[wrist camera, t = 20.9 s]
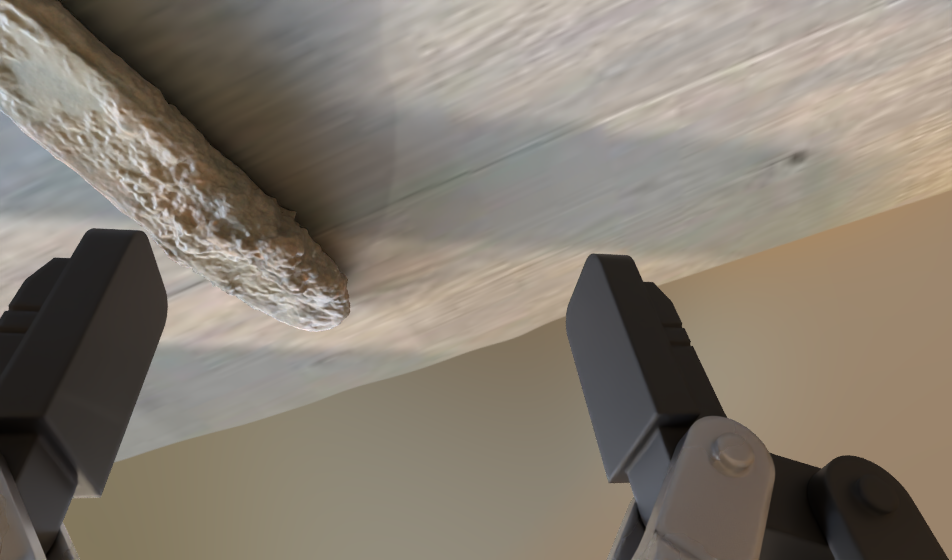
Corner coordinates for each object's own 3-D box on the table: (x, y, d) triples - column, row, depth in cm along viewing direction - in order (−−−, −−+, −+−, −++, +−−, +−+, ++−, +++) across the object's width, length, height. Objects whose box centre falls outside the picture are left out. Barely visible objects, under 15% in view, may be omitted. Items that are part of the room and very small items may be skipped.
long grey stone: (-19, -138, 28) (-125, -31, 31) (-93, -119, 24) (-205, 1, 27) (385, 287, 50) (299, 325, 53) (380, 333, 46) (287, 370, 49)
